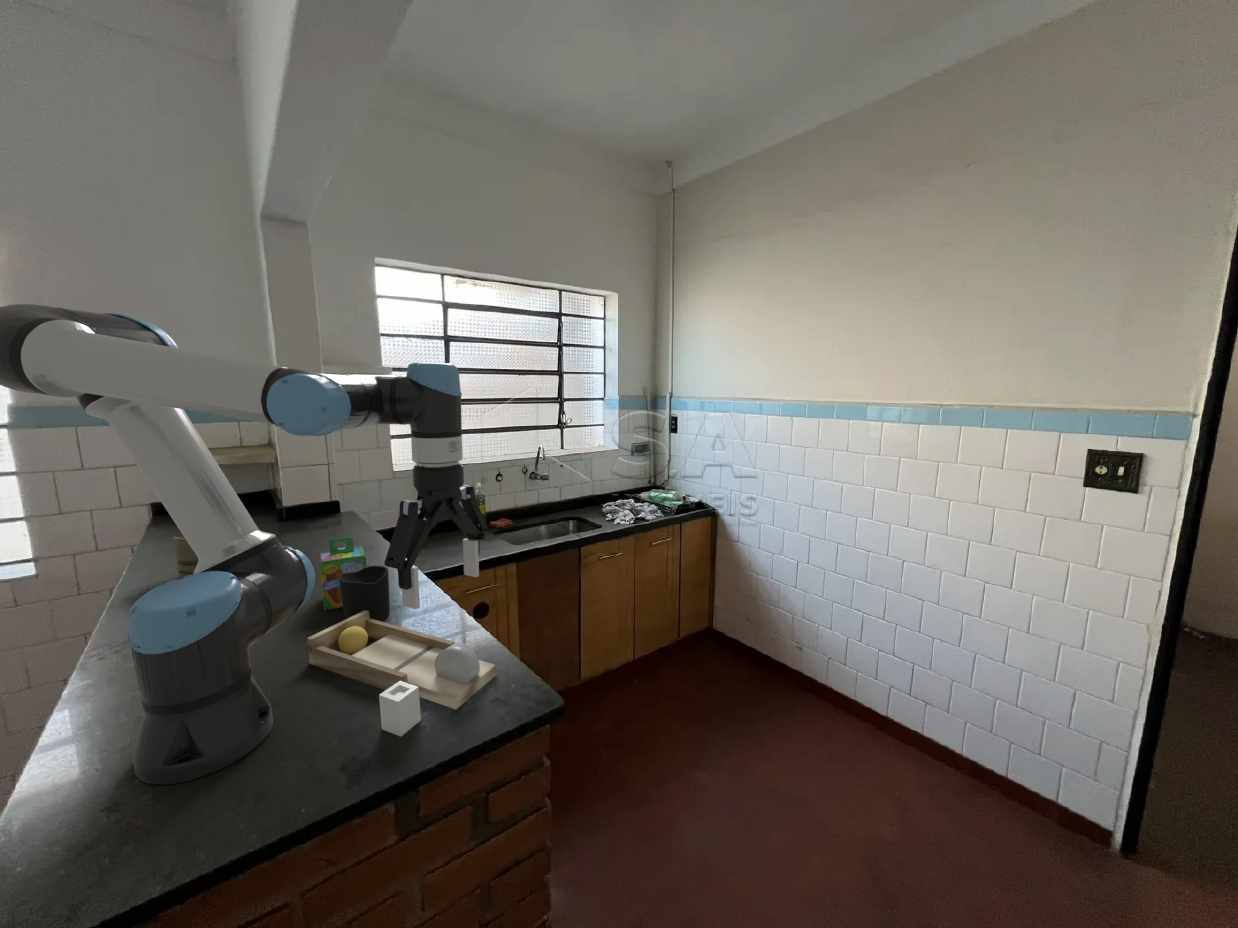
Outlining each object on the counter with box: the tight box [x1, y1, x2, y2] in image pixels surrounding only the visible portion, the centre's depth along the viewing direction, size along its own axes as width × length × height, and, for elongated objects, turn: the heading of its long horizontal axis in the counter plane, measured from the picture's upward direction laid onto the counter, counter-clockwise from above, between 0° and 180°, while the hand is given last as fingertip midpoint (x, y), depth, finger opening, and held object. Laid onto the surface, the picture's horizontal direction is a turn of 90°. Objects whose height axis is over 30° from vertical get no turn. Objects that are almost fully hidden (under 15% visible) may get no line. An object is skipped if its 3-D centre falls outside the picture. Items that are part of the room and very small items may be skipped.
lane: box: [306, 610, 497, 710], centre depth 88 cm, size 12×33×5 cm, turn 66°
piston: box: [173, 536, 198, 579], centre depth 129 cm, size 11×12×11 cm
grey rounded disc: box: [435, 642, 480, 684], centre depth 83 cm, size 3×7×7 cm, turn 66°
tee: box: [378, 681, 422, 737], centre depth 73 cm, size 4×4×6 cm
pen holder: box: [339, 565, 390, 622], centre depth 106 cm, size 9×9×10 cm
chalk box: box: [319, 536, 367, 612], centre depth 114 cm, size 9×9×15 cm
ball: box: [338, 626, 369, 655], centre depth 93 cm, size 5×5×5 cm
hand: (443, 589), depth 81 cm, fingers open, 13 cm apart
